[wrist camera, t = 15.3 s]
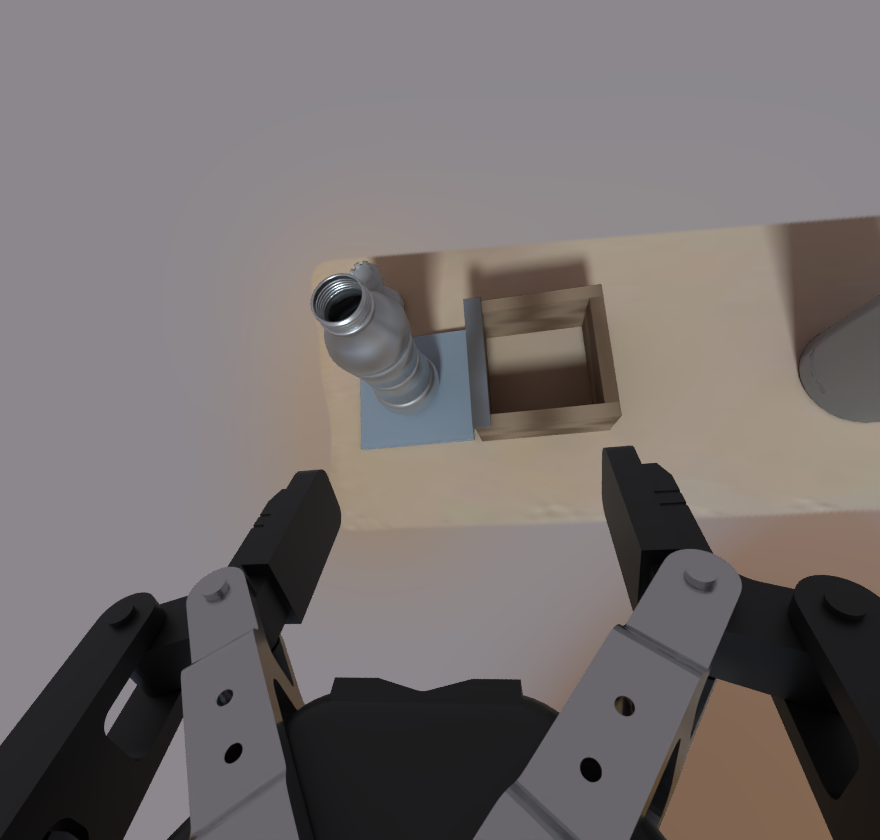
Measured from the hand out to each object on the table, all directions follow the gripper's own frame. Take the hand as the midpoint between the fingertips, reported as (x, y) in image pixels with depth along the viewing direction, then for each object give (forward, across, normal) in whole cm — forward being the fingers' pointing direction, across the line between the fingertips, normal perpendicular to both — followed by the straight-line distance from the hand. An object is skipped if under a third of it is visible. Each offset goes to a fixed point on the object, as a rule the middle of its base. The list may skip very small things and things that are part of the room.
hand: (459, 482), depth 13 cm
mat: (+32, +9, +13) cm, 36 cm away
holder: (+32, -4, +13) cm, 35 cm away
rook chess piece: (+39, +12, +6) cm, 42 cm away
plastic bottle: (+32, +9, +13) cm, 35 cm away
